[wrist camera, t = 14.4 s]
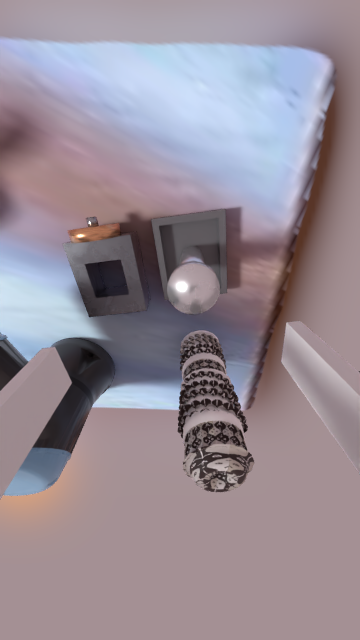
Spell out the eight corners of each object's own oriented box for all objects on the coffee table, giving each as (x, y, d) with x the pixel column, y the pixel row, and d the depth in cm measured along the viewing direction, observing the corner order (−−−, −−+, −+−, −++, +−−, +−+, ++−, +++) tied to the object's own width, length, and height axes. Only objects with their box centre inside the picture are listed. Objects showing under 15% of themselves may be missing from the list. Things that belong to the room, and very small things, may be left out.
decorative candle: (184, 324, 42) (189, 450, 20) (227, 333, 43) (278, 463, 21) (174, 359, 46) (168, 496, 24) (213, 366, 47) (243, 505, 25)
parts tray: (224, 288, 38) (227, 293, 36) (165, 295, 39) (164, 300, 37) (222, 209, 32) (225, 209, 30) (153, 218, 33) (151, 219, 31)
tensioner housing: (150, 299, 40) (143, 318, 32) (99, 305, 40) (81, 325, 33) (132, 212, 33) (119, 212, 26) (71, 220, 33) (42, 223, 26)
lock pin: (208, 270, 36) (220, 311, 22) (178, 273, 36) (171, 316, 22) (206, 238, 34) (218, 261, 19) (174, 242, 34) (163, 267, 20)
